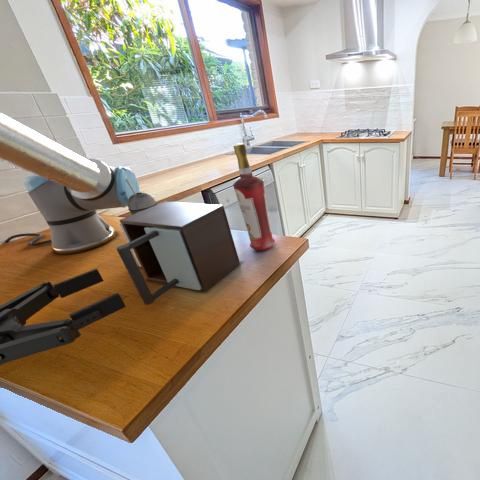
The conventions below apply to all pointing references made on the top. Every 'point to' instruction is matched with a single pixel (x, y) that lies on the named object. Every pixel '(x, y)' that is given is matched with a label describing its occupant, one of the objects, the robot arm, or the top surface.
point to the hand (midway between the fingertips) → (110, 286)
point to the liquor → (252, 202)
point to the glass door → (161, 262)
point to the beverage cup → (139, 201)
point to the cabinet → (187, 239)
